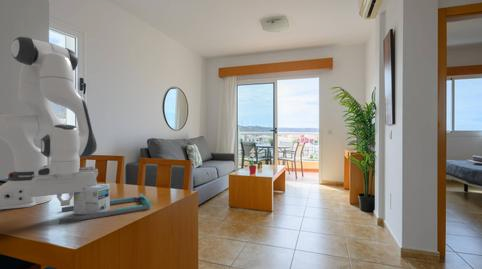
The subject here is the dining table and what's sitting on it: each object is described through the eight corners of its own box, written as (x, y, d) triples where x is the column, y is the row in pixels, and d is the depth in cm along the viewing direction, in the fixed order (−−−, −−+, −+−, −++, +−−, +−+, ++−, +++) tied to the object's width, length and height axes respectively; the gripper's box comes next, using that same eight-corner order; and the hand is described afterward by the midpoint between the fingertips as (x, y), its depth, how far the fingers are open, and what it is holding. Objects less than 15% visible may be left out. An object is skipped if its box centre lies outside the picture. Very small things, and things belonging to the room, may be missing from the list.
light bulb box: (110, 210, 97) (110, 183, 97) (98, 215, 90) (98, 187, 90) (85, 209, 98) (86, 182, 98) (72, 214, 91) (72, 186, 91)
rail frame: (59, 223, 82) (59, 215, 82) (61, 211, 95) (61, 203, 95) (150, 208, 99) (150, 201, 99) (142, 199, 112) (142, 193, 112)
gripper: (97, 165, 97) (97, 199, 97) (31, 169, 86) (31, 207, 86) (98, 167, 92) (98, 203, 92) (28, 171, 81) (27, 212, 81)
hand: (65, 205), depth 89 cm, fingers closed
